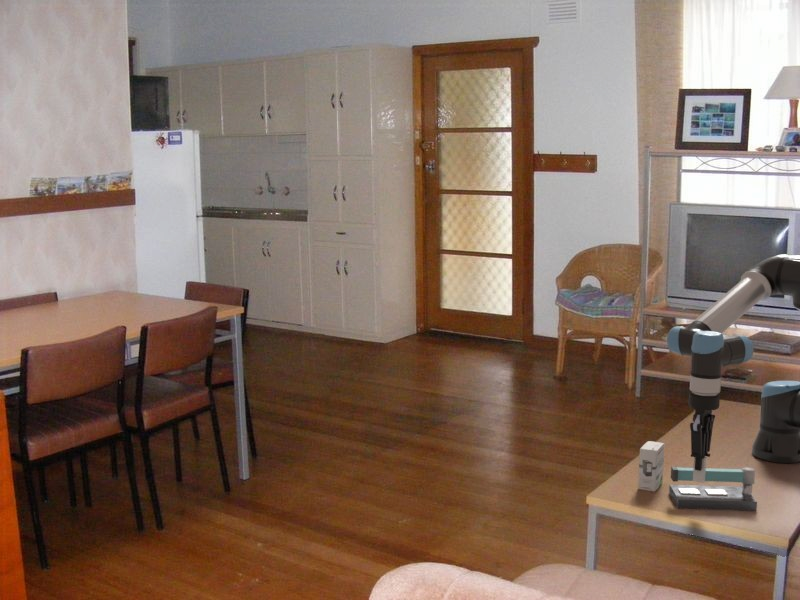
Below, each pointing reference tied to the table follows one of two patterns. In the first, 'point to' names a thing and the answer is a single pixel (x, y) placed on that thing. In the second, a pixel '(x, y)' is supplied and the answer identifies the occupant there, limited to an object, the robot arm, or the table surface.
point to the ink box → (651, 466)
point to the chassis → (713, 497)
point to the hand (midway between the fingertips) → (698, 481)
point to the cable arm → (715, 475)
